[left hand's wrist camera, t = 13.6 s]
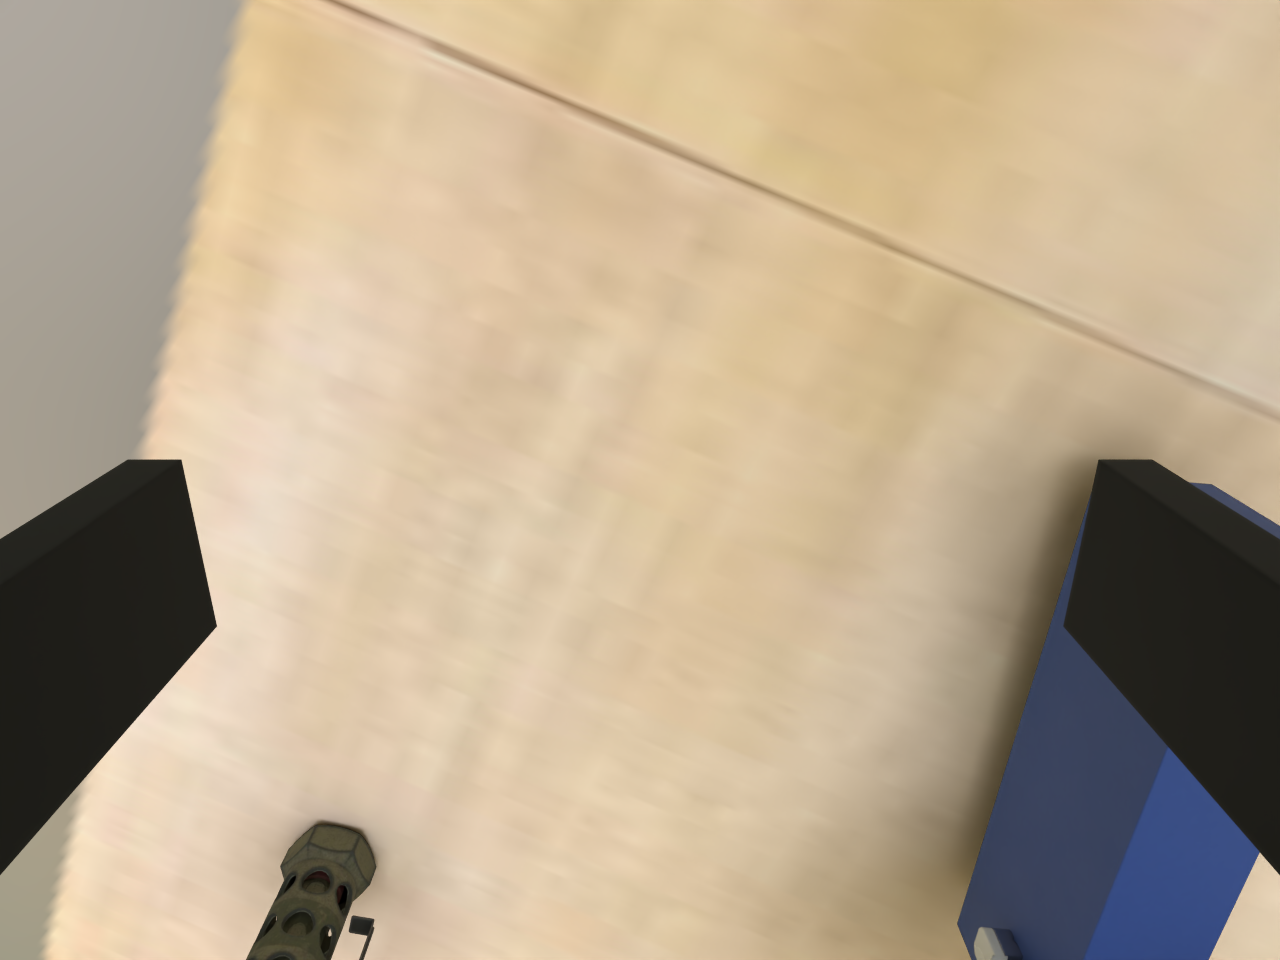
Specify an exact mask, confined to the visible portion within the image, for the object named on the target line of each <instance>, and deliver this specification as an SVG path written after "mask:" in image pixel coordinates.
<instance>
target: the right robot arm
mask: <svg viewBox="0 0 1280 960" xmlns="http://www.w3.org/2000/svg"><path fill="white" fill-rule="evenodd" d="M974 952H975V956H976V958H977V960H1022V959H1023V955H1022V953H1021V951H1020V949H1019V946H1018V944H1017V943H1016V942H1015V941H1014V936H1013V934H1012V932H1011V931H1010V929H1000V928H987V927H980V928H979V930H978V933H977V936H976V939H975V942H974Z"/></svg>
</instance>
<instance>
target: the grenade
mask: <svg viewBox="0 0 1280 960" xmlns="http://www.w3.org/2000/svg"><path fill="white" fill-rule="evenodd" d="M280 867H281V870H282V874H283V877H284V882H283V884H282V886H281V888H280V890H279V893H278V895H277V897H276V899H275V901H274V903H273V905H272V907H271V909H270V911H269V913H268V915H267V917H266V919H265V922H264V924H263V926H262V928H261V930H260V932H259V934H258V937H257V939H256V941H255V943H254V944H253V946H252V948H251V950H250V952H249V955H248V957H247V959H246V960H331V958H332V955H333V952H334V950H335V947H336V944H337V941H338V939H339V937H340V934H341V931H342V929H343V926H344V923H345V921H346V918H347V915H348V913H349V910H350V907H351V905H352V902H353V901H354V900H355V899H356V898H357V897H358V896H359V895H361V894H362V893H363V892H364V890H365V889H366V888H367V887H368V886H369V885H370V883H371V880H372V878H373V875H374V872H375V869H376V864H375V861H374V858H373V855H372V852H371V850H370V848H369V846H368V844H367V842H366V841H365V839H364V838H363V837H362V836H361V834H358V833H356V832H354V831H352V830H349V829H346V828H342V827H338V826H330V825H315V826H314V827H312V828H311V829H310V830H308V831H307V832H306V833H305V834H303V835H302V836H301V837H300V838H299V839H298V840H297V841H296V842H295V843H294V844H293V845H292V846H291V847H290V848H289V850H288V852H287V854H286V856H285V858H284V860H283V862H282V864H281V866H280ZM276 916H277V920H276ZM373 924H374V919H371V918H365V917H359V916H352V918H351V923H350V928H349V932H350V933H355V934H360V935H366V936H367V939H366V942H365V945H364V948H363V950H362V953H361V956H360V959H359V960H364V957H365V954H366V951H367V948H368V945H369V943H370V940H371V937H372V934H373V931H374V927H373ZM330 929H331V932H332V936H330V937H329V936H328V932H329V930H330Z"/></svg>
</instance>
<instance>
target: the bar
mask: <svg viewBox="0 0 1280 960" xmlns="http://www.w3.org/2000/svg"><path fill="white" fill-rule="evenodd" d="M1190 484H1192V485H1194V486H1195V487H1197V488H1198V489H1200V490H1202V491H1203V492H1205V493H1207V494H1208V495H1210V496H1211V497H1213V498H1215V499H1216V500H1218V501H1219V502H1221V503H1223V504H1224V505H1226V506H1227V507H1229V508H1231V509H1232V510H1234V511H1235V512H1237V513H1239V514H1240V515H1242V516H1243V517H1245V518H1247V519H1248V520H1250V521H1252V522H1253V523H1255V524H1256V525H1258V526H1260V527H1261V528H1263V529H1264V530H1266V531H1268V532H1269V533H1271V534H1272V535H1274V536H1276V537H1277V538H1279V539H1280V526H1279V525H1277V524H1276V523H1274V522H1272V521H1271V520H1269V519H1268V518H1266V517H1264V516H1263V515H1261V514H1259V513H1258V512H1256V511H1254V510H1253V509H1251V508H1250V507H1248V506H1246V505H1245V504H1243V503H1241V502H1240V501H1238V500H1237V499H1235V498H1233V497H1232V496H1230V495H1228V494H1227V493H1225V492H1223V491H1222V490H1220V489H1219V488H1217V487H1215V486H1214V485H1212V484H1201V483H1190ZM1091 493H1092V492H1091ZM1090 498H1091V496H1090ZM1089 503H1090V499H1089V502H1088V505H1087V509H1086V512H1085V515H1084V518H1083V521H1082V525H1081V528H1080V531H1079V534H1078V537H1077V541H1076V544H1075V547H1074V550H1073V553H1072V557H1071V560H1070V563H1069V566H1068V570H1067V573H1066V576H1065V579H1064V582H1063V586H1062V589H1061V592H1060V595H1059V598H1058V602H1057V605H1056V608H1055V611H1054V614H1053V618H1052V621H1051V624H1050V627H1049V631H1048V634H1047V637H1046V640H1045V643H1044V647H1043V650H1042V653H1041V656H1040V659H1039V663H1038V666H1037V669H1036V672H1035V675H1034V679H1033V682H1032V685H1031V688H1030V692H1029V695H1028V698H1027V701H1026V704H1025V708H1024V711H1023V714H1022V717H1021V720H1020V724H1019V727H1018V730H1017V733H1016V737H1015V740H1014V743H1013V746H1012V749H1011V753H1010V756H1009V759H1008V762H1007V765H1006V769H1005V772H1004V775H1003V778H1002V781H1001V785H1000V788H999V791H998V794H997V798H996V801H995V804H994V807H993V810H992V814H991V817H990V820H989V823H988V826H987V830H986V833H985V836H984V839H983V842H982V846H981V849H980V852H979V855H978V859H977V862H976V865H975V868H974V871H973V875H972V878H971V881H970V884H969V887H968V891H967V894H966V897H965V900H964V903H963V907H962V910H961V913H960V916H959V920H958V923H957V925H958V927H959V930H960V932H961V935H962V937H963V940H964V942H965V945H966V947H967V949H968V952H969V954H970V957H971V959H972V960H977V958H976V956H975V952H974V942H975V939H976V936H977V933H978V930H979V928H980V927H987V928H1000V929H1010V931H1011V932H1012V934H1013V936H1014V941H1015V942H1016V943H1017V944H1018V946H1019V949H1020V951H1021V953H1022V955H1023V959H1022V960H1209V958H1210V956H1211V954H1212V951H1213V949H1214V947H1215V945H1216V943H1217V941H1218V939H1219V937H1220V935H1221V932H1222V930H1223V928H1224V926H1225V924H1226V922H1227V920H1228V918H1229V916H1230V914H1231V911H1232V909H1233V907H1234V905H1235V903H1236V901H1237V899H1238V897H1239V895H1240V892H1241V890H1242V888H1243V886H1244V884H1245V882H1246V880H1247V878H1248V876H1249V874H1250V871H1251V869H1252V867H1253V865H1254V863H1255V861H1256V859H1257V857H1258V855H1259V851H1258V849H1257V848H1256V847H1255V846H1254V845H1253V844H1252V843H1251V841H1250V840H1249V839H1248V838H1247V837H1246V836H1245V835H1244V833H1243V832H1242V831H1241V830H1240V829H1239V828H1238V826H1237V825H1236V824H1235V823H1234V822H1233V821H1232V820H1231V818H1230V817H1229V816H1228V815H1227V814H1226V813H1225V812H1224V810H1223V809H1222V808H1221V807H1220V806H1219V805H1218V804H1217V802H1216V801H1215V800H1214V799H1213V798H1212V797H1211V795H1210V794H1209V793H1208V792H1207V791H1206V790H1205V789H1204V787H1203V786H1202V785H1201V784H1200V783H1199V782H1198V781H1197V779H1196V778H1195V777H1194V776H1193V775H1192V774H1191V773H1190V771H1189V770H1188V769H1187V768H1186V767H1185V766H1184V765H1183V763H1182V762H1181V761H1180V760H1179V759H1178V758H1177V756H1176V755H1175V754H1174V753H1173V752H1172V751H1171V750H1170V748H1169V747H1168V746H1167V745H1166V744H1165V743H1164V742H1163V740H1162V739H1161V738H1160V737H1159V736H1158V735H1157V734H1156V732H1155V731H1154V730H1153V729H1152V728H1151V727H1150V725H1149V724H1148V723H1147V722H1146V721H1145V720H1144V719H1143V717H1142V716H1141V715H1140V714H1139V713H1138V712H1137V711H1136V709H1135V708H1134V707H1133V706H1132V705H1131V704H1130V703H1129V701H1128V700H1127V699H1126V698H1125V697H1124V696H1123V694H1122V693H1121V692H1120V691H1119V690H1118V689H1117V688H1116V686H1115V685H1114V684H1113V683H1112V682H1111V681H1110V680H1109V678H1108V677H1107V676H1106V675H1105V674H1104V673H1103V672H1102V670H1101V669H1100V668H1099V667H1098V666H1097V665H1096V664H1095V662H1094V661H1093V660H1092V659H1091V658H1090V657H1089V655H1088V654H1087V653H1086V652H1085V651H1084V650H1083V649H1082V647H1081V646H1080V645H1079V644H1078V643H1077V642H1076V641H1075V639H1074V638H1073V637H1072V636H1071V635H1070V634H1069V633H1068V631H1067V630H1066V629H1065V628H1064V627H1063V624H1064V620H1065V615H1066V610H1067V606H1068V601H1069V596H1070V592H1071V587H1072V582H1073V578H1074V573H1075V568H1076V564H1077V559H1078V554H1079V549H1080V545H1081V540H1082V535H1083V531H1084V526H1085V521H1086V517H1087V512H1088V507H1089Z"/></svg>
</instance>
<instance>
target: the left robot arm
mask: <svg viewBox="0 0 1280 960" xmlns="http://www.w3.org/2000/svg"><path fill="white" fill-rule="evenodd" d="M216 627H217V624H216V620H215V615H214V610H213V606H212V601H211V596H210V592H209V587H208V582H207V578H206V573H205V568H204V564H203V559H202V554H201V549H200V545H199V540H198V535H197V531H196V526H195V521H194V517H193V512H192V507H191V503H190V498H189V493H188V489H187V484H186V479H185V474H184V470H183V465H182V460H126V461H125V462H123V463H122V464H120V465H118V466H117V467H115V468H114V469H112V470H110V471H109V472H107V473H106V474H104V475H102V476H101V477H99V478H98V479H96V480H94V481H93V482H91V483H90V484H88V485H86V486H85V487H83V488H82V489H80V490H78V491H77V492H75V493H73V494H72V495H70V496H69V497H67V498H66V499H64V500H62V501H61V502H59V503H57V504H56V505H54V506H53V507H51V508H49V509H48V510H46V511H45V512H43V513H41V514H40V515H38V516H37V517H35V518H33V519H32V520H30V521H28V522H27V523H25V524H24V525H22V526H20V527H19V528H17V529H16V530H14V531H12V532H11V533H9V534H8V535H6V536H4V537H3V538H1V539H0V875H1V874H2V872H3V871H4V870H5V869H6V868H7V867H8V865H9V864H10V863H11V862H12V861H13V860H14V859H15V857H16V856H17V855H18V854H19V853H20V852H21V851H22V849H23V848H24V847H25V846H26V845H27V844H28V842H29V841H30V840H31V839H32V838H33V837H34V836H35V835H36V833H37V832H38V831H39V830H40V829H41V828H42V826H43V825H44V824H45V823H46V822H47V821H48V820H49V818H50V817H51V816H52V815H53V814H54V813H55V811H56V810H57V809H58V808H59V807H60V806H61V805H62V803H63V802H64V801H65V800H66V799H67V798H68V797H69V795H70V794H71V793H72V792H73V791H74V790H75V789H76V787H77V786H78V785H79V784H80V783H81V782H82V781H83V779H84V778H85V777H86V776H87V775H88V774H89V773H90V771H91V770H92V769H93V768H94V767H95V766H96V765H97V763H98V762H99V761H100V760H101V759H102V758H103V756H104V755H105V754H106V753H107V752H108V751H109V750H110V748H111V747H112V746H113V745H114V744H115V743H116V742H117V740H118V739H119V738H120V737H121V736H122V735H123V734H124V732H125V731H126V730H127V729H128V728H129V727H130V725H131V724H132V723H133V722H134V721H135V720H136V719H137V717H138V716H139V715H140V714H141V713H142V712H143V711H144V709H145V708H146V707H147V706H148V705H149V704H150V703H151V701H152V700H153V699H154V698H155V697H156V696H157V694H158V693H159V692H160V691H161V690H162V689H163V688H164V686H165V685H166V684H167V683H168V682H169V681H170V680H171V678H172V677H173V676H174V675H175V674H176V673H177V672H178V670H179V669H180V668H181V667H182V666H183V665H184V664H185V662H186V661H187V660H188V659H189V658H190V657H191V655H192V654H193V653H194V652H195V651H196V650H197V649H198V647H199V646H200V645H201V644H202V643H203V642H204V641H205V639H206V638H207V637H208V636H209V635H210V634H211V633H212V631H213V630H214V629H215V628H216ZM1063 627H1064V628H1065V629H1066V630H1067V631H1068V633H1069V634H1070V635H1071V636H1072V637H1073V638H1074V639H1075V641H1076V642H1077V643H1078V644H1079V645H1080V646H1081V647H1082V649H1083V650H1084V651H1085V652H1086V653H1087V654H1088V655H1089V657H1090V658H1091V659H1092V660H1093V661H1094V662H1095V664H1096V665H1097V666H1098V667H1099V668H1100V669H1101V670H1102V672H1103V673H1104V674H1105V675H1106V676H1107V677H1108V678H1109V680H1110V681H1111V682H1112V683H1113V684H1114V685H1115V686H1116V688H1117V689H1118V690H1119V691H1120V692H1121V693H1122V694H1123V696H1124V697H1125V698H1126V699H1127V700H1128V701H1129V703H1130V704H1131V705H1132V706H1133V707H1134V708H1135V709H1136V711H1137V712H1138V713H1139V714H1140V715H1141V716H1142V717H1143V719H1144V720H1145V721H1146V722H1147V723H1148V724H1149V725H1150V727H1151V728H1152V729H1153V730H1154V731H1155V732H1156V734H1157V735H1158V736H1159V737H1160V738H1161V739H1162V740H1163V742H1164V743H1165V744H1166V745H1167V746H1168V747H1169V748H1170V750H1171V751H1172V752H1173V753H1174V754H1175V755H1176V756H1177V758H1178V759H1179V760H1180V761H1181V762H1182V763H1183V765H1184V766H1185V767H1186V768H1187V769H1188V770H1189V771H1190V773H1191V774H1192V775H1193V776H1194V777H1195V778H1196V779H1197V781H1198V782H1199V783H1200V784H1201V785H1202V786H1203V787H1204V789H1205V790H1206V791H1207V792H1208V793H1209V794H1210V795H1211V797H1212V798H1213V799H1214V800H1215V801H1216V802H1217V804H1218V805H1219V806H1220V807H1221V808H1222V809H1223V810H1224V812H1225V813H1226V814H1227V815H1228V816H1229V817H1230V818H1231V820H1232V821H1233V822H1234V823H1235V824H1236V825H1237V826H1238V828H1239V829H1240V830H1241V831H1242V832H1243V833H1244V835H1245V836H1246V837H1247V838H1248V839H1249V840H1250V841H1251V843H1252V844H1253V845H1254V846H1255V847H1256V848H1257V849H1258V851H1259V852H1260V853H1261V854H1262V855H1263V856H1264V857H1265V859H1266V860H1267V861H1268V862H1269V863H1270V864H1271V865H1272V867H1273V868H1274V869H1275V870H1276V871H1277V872H1278V874H1279V875H1280V539H1279V538H1277V537H1276V536H1274V535H1272V534H1271V533H1269V532H1268V531H1266V530H1264V529H1263V528H1261V527H1260V526H1258V525H1256V524H1255V523H1253V522H1252V521H1250V520H1248V519H1247V518H1245V517H1243V516H1242V515H1240V514H1239V513H1237V512H1235V511H1234V510H1232V509H1231V508H1229V507H1227V506H1226V505H1224V504H1223V503H1221V502H1219V501H1218V500H1216V499H1215V498H1213V497H1211V496H1210V495H1208V494H1207V493H1205V492H1203V491H1202V490H1200V489H1198V488H1197V487H1195V486H1194V485H1192V484H1190V483H1189V482H1187V481H1186V480H1184V479H1182V478H1181V477H1179V476H1178V475H1176V474H1174V473H1173V472H1171V471H1170V470H1168V469H1166V468H1165V467H1163V466H1162V465H1160V464H1158V463H1157V462H1155V461H1154V460H1098V465H1097V470H1096V474H1095V479H1094V484H1093V489H1092V493H1091V498H1090V503H1089V507H1088V512H1087V517H1086V521H1085V526H1084V531H1083V535H1082V540H1081V545H1080V549H1079V554H1078V559H1077V564H1076V568H1075V573H1074V578H1073V582H1072V587H1071V592H1070V596H1069V601H1068V606H1067V610H1066V615H1065V620H1064V624H1063Z"/></svg>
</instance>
